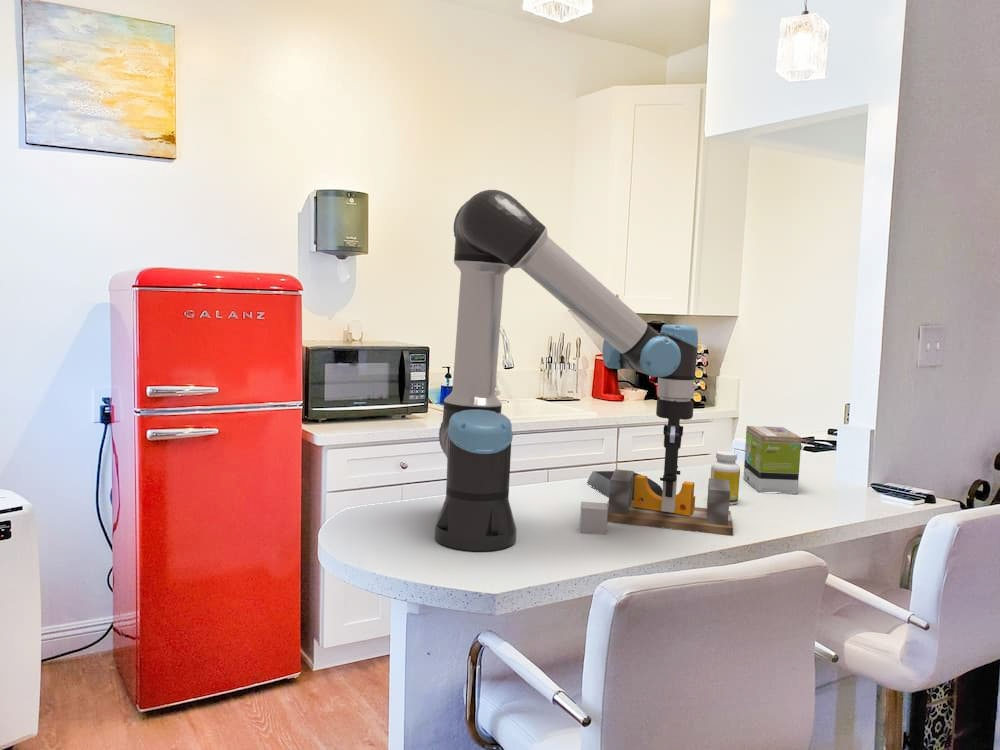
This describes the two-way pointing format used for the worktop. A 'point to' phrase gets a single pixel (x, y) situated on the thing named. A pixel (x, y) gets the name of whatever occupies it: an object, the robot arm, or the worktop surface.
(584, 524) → the block
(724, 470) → the pill bottle
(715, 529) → the rail board
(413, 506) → the worktop surface
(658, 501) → the pipe clamp
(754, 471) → the tea box
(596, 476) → the dark piece
